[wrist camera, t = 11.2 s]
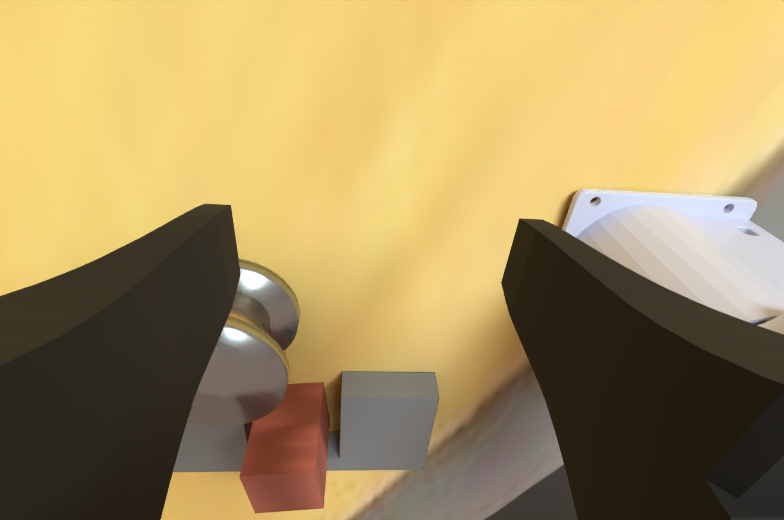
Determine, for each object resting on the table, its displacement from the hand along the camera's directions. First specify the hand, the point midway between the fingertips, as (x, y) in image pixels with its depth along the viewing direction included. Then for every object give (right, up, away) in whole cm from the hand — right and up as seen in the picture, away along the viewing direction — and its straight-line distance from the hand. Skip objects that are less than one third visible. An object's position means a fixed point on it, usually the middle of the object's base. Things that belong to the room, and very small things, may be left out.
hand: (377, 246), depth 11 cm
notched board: (-6, -11, +18) cm, 22 cm away
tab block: (-6, -10, +18) cm, 21 cm away
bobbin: (-8, -3, +13) cm, 16 cm away
